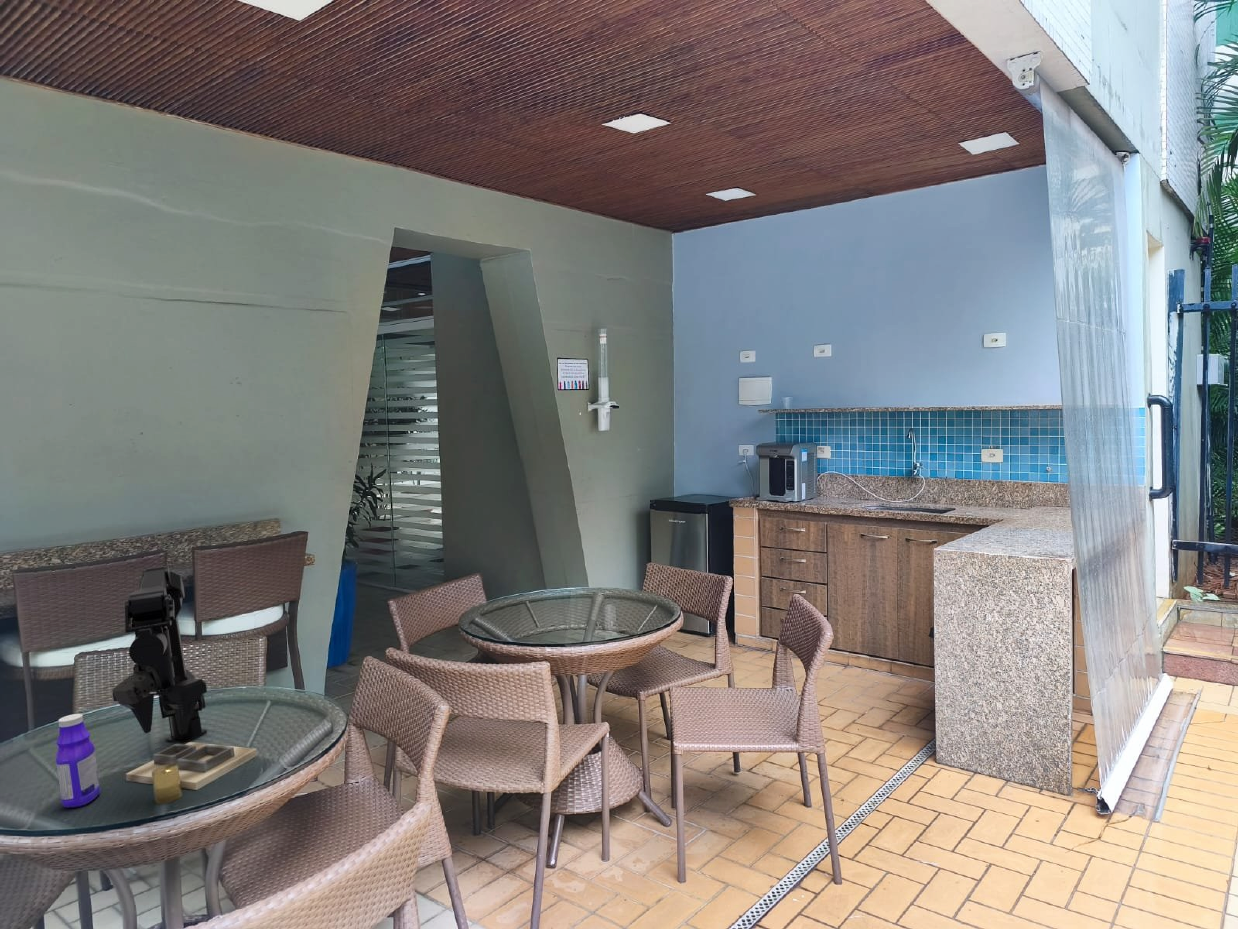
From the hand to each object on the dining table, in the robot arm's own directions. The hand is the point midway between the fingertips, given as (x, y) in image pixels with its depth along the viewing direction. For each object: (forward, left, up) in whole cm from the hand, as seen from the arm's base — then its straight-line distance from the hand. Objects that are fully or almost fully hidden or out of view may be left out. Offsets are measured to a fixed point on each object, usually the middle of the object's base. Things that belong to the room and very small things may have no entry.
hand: (165, 733), depth 165 cm
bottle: (-19, -6, -13) cm, 24 cm away
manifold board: (-8, +11, -13) cm, 19 cm away
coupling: (-1, -1, -13) cm, 13 cm away
